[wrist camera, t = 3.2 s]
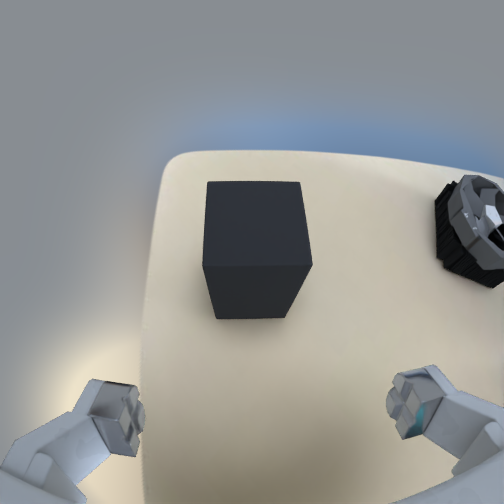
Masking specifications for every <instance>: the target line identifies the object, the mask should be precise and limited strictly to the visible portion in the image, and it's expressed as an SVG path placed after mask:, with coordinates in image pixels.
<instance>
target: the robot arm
mask: <svg viewBox="0 0 504 504" xmlns="http://www.w3.org/2000/svg"><path fill="white" fill-rule="evenodd" d="M392 383H393V385H394V387H393V388H392V389H391V390H390V391H389V392H388V395H387V398H386V408H387V412H388V414H389V416H390V417H391V418H393V419H394V420H396V425H395V427H396V429H397V431H398V432H399V434H400V436H401V438H402V440H404V439H407V438H411V437H414V436H418V435H421V434H423V435H424V436H425V437H427V438H428V439H430V440H431V441H432V442H434V443H435V444H437V445H438V446H440V447H441V448H443V449H444V450H446V451H447V452H449V453H451V454H452V455H454V456H455V457H457V458H458V459H460V460H459V461H458V462H457V464H456V465H455V466H454V467H453V469H452V473H453V475H454V477H453V478H451V479H449V480H447V481H445V482H443V483H441V484H438V485H436V486H434V487H432V488H429V489H427V490H425V491H422V492H420V493H417V494H415V495H412V496H409V497H407V498H404V499H401V500H398V501H395V502H392V503H389V504H504V408H503V407H500V406H498V405H495V404H493V403H490V402H488V401H485V400H483V399H480V398H478V397H476V396H473V395H471V394H468V393H466V392H464V391H457V390H456V388H455V387H454V386H453V385H452V384H451V382H450V381H449V380H448V379H447V378H446V376H445V375H444V374H443V373H442V372H441V371H440V369H439V368H438V367H437V366H435V365H429V366H426V367H422V368H418V369H413V370H409V371H405V372H400V373H397V374H396V375H395V376H394V379H393V381H392ZM138 397H139V391H138V388H137V386H135V385H130V384H122V383H116V382H110V381H102V380H96V379H92V380H90V381H89V382H88V384H87V385H86V387H85V389H84V391H83V392H82V394H81V396H80V398H79V400H78V401H77V403H76V405H75V407H74V409H73V411H72V412H66V413H64V414H62V415H61V416H59V417H57V418H55V419H54V420H52V421H50V422H48V423H46V424H45V425H43V426H41V427H39V428H37V429H35V430H34V431H32V432H30V433H28V434H26V435H24V436H23V437H21V438H19V439H17V440H15V442H14V443H13V445H12V447H11V448H10V450H9V452H8V454H7V456H6V457H5V459H4V461H3V463H2V465H1V466H0V504H86V501H87V499H86V497H85V495H84V494H83V493H82V492H81V491H80V490H79V489H78V488H77V487H76V485H77V484H78V483H79V482H80V481H81V480H82V479H84V478H85V477H86V476H87V475H88V474H89V473H91V472H92V471H93V470H94V469H95V468H96V467H97V466H99V465H100V464H101V463H102V462H103V461H104V460H105V459H107V458H108V457H109V456H110V455H111V454H110V453H112V454H118V455H124V456H131V457H136V454H137V451H138V447H139V443H140V440H139V438H138V434H140V433H141V432H142V431H143V429H144V425H145V411H144V407H143V404H142V403H141V402H140V401H139V400H138Z"/></svg>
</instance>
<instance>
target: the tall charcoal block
mask: <svg viewBox="0 0 504 504" xmlns="http://www.w3.org/2000/svg"><path fill="white" fill-rule="evenodd" d="M312 265H313V263H312V256H311V249H310V242H309V235H308V228H307V222H306V215H305V209H304V203H303V197H302V191H301V185H300V182H282V181H211V182H208V183H207V194H206V208H205V224H204V241H203V262H202V266H203V270H204V274H205V278H206V282H207V286H208V290H209V294H210V298H211V301H212V305H213V309H214V313H215V316H216V319H261V318H285V316H286V314H287V312H288V311H289V309H290V307H291V305H292V303H293V301H294V299H295V298H296V296H297V294H298V292H299V290H300V288H301V286H302V284H303V282H304V280H305V279H306V277H307V275H308V273H309V271H310V269H311V267H312Z"/></svg>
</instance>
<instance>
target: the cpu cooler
mask: <svg viewBox="0 0 504 504" xmlns="http://www.w3.org/2000/svg"><path fill="white" fill-rule="evenodd" d="M435 206H436V207H435V212H436V213H435V214H436V222H437V223H436V227H437V228H436V233H437V235H436V237H437V258H440V259H443V260H444V268H445V269H447V270H448V269H449V271H450V270H451V271H452V272H454V273H456V274H459V275H463V276H465V277H467V278H469V279H471V280H472V279H473V280H474V281H477V282H479V283H481V284H484V285H485V286H488V287H492V289H493V288H494V287H496V286H497V285H499V284H500V283H502V282H503V281H504V192H503V190H502V189H501V188H500V187H499V186H498V185H497V183H494V182H492V181H490V180H488V179H486V178H483V177H481V176H479V175H464V176H463V178H462V179H461V180H460V182H459V183H458V184H457V182H455V181H453V182H452V183H451V184H447V185H446V187H445V188H444V189H443V191H442V192H441V193H440V195H439V196H438V197H437V199H436V200H435Z"/></svg>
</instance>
